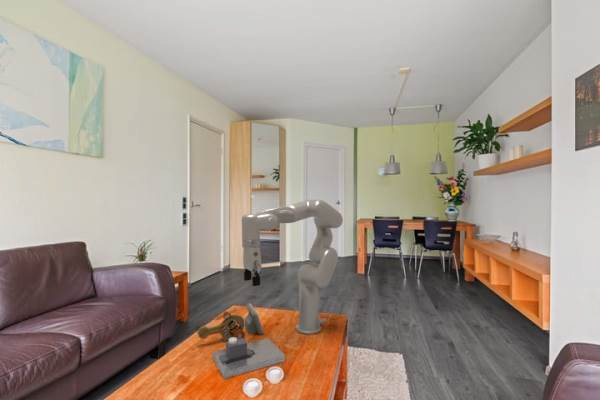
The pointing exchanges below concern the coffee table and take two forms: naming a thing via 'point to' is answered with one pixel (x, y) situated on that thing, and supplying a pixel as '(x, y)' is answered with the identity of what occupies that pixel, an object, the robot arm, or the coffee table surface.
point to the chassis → (250, 359)
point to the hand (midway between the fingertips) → (251, 282)
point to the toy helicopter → (225, 327)
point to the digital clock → (253, 321)
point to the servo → (235, 351)
